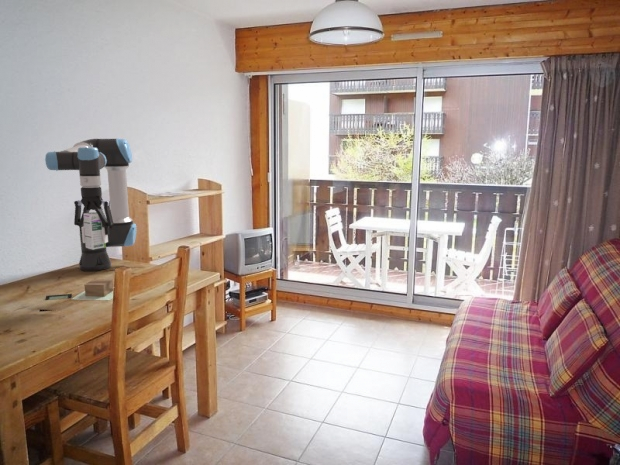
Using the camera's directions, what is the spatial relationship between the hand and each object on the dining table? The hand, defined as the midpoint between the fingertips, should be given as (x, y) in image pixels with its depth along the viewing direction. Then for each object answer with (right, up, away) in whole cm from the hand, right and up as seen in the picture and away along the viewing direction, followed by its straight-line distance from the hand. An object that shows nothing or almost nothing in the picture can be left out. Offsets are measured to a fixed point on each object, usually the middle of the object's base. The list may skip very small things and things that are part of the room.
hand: (95, 242), depth 195 cm
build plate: (0, -23, +4) cm, 23 cm away
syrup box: (0, -2, 0) cm, 2 cm away
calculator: (-13, -25, -6) cm, 29 cm away
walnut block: (0, -21, +4) cm, 22 cm away
